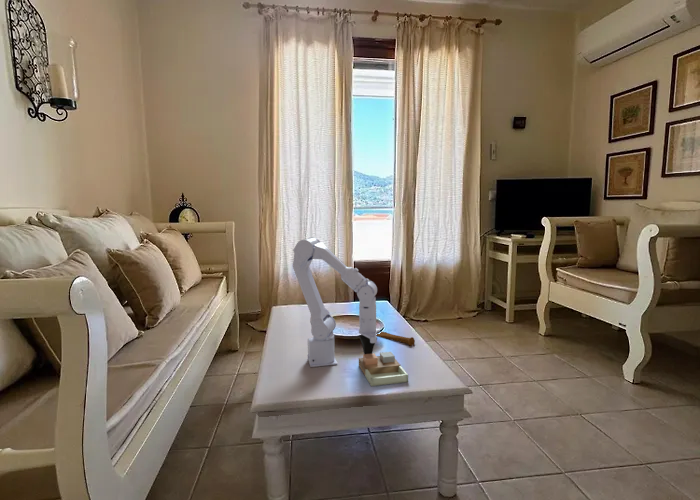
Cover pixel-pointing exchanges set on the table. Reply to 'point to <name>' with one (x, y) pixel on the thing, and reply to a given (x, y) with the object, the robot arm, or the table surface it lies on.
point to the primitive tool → (397, 338)
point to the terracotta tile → (370, 359)
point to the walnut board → (379, 366)
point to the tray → (387, 377)
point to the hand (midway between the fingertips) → (367, 356)
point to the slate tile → (387, 357)
